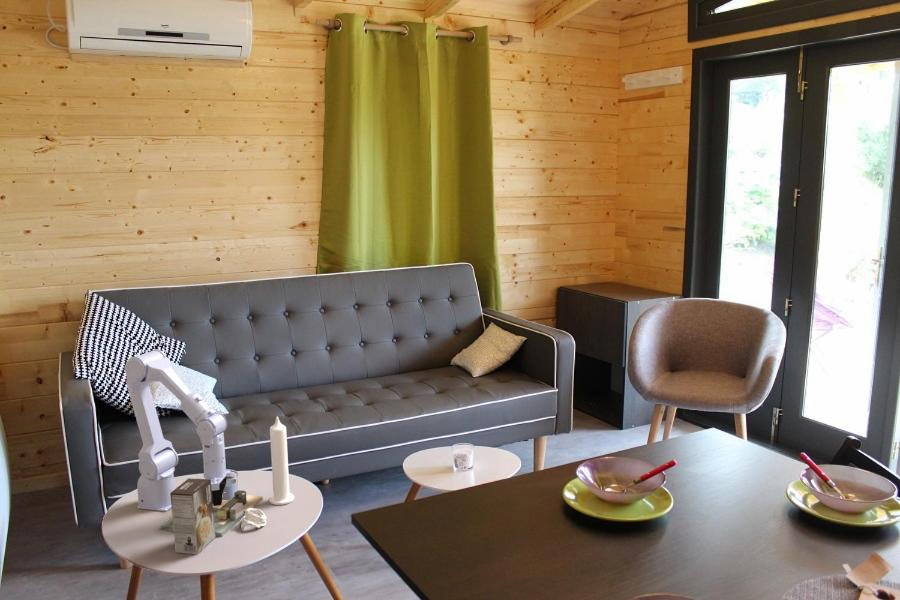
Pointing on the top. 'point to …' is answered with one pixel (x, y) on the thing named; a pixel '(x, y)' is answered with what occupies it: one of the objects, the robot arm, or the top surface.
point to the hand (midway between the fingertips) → (217, 504)
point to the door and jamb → (221, 524)
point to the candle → (279, 465)
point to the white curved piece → (253, 518)
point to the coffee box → (192, 515)
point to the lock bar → (232, 504)
